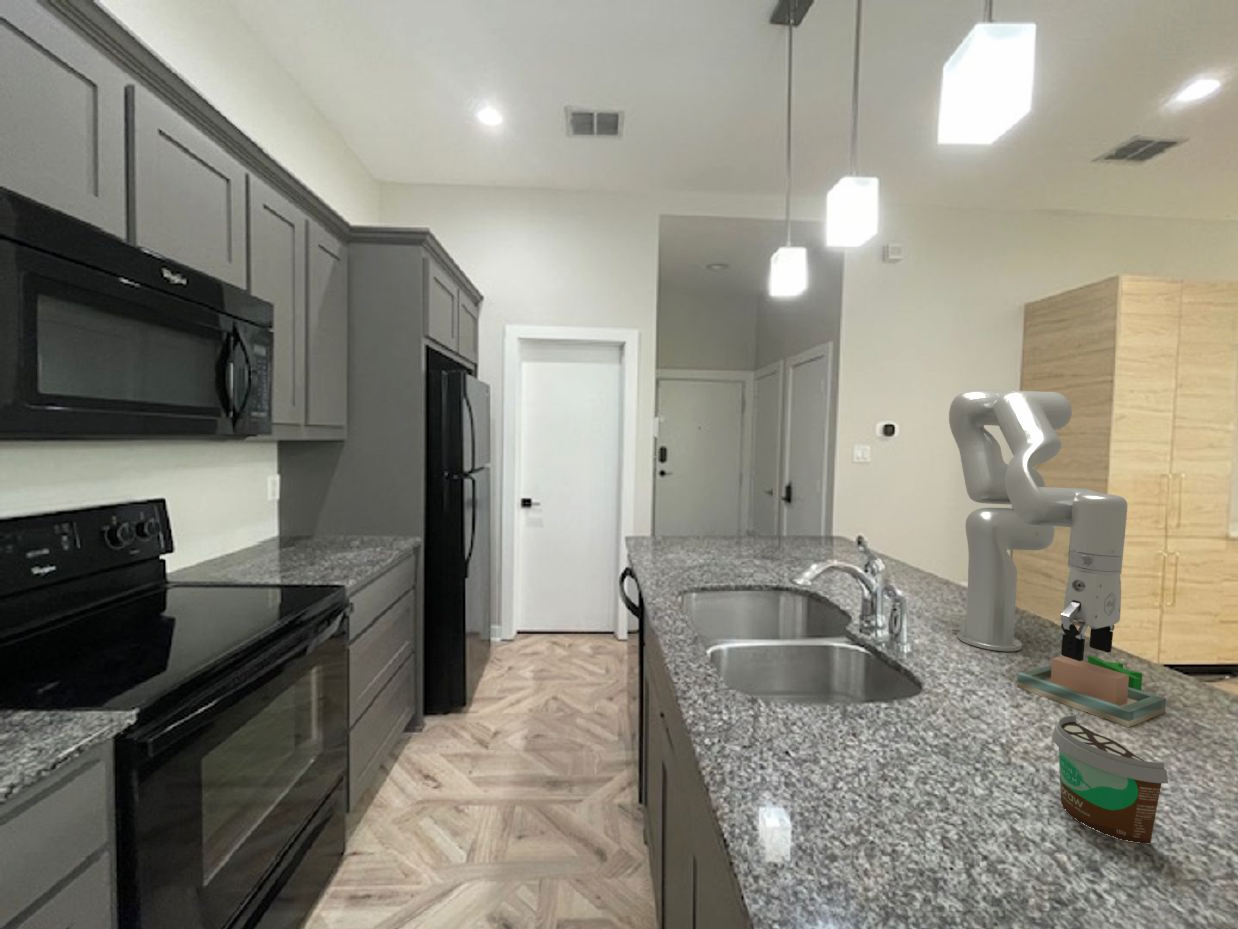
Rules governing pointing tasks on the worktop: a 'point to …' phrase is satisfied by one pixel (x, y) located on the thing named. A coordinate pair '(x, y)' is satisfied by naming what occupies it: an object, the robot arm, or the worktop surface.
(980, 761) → the worktop surface
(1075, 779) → the food container
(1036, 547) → the robot arm
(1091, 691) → the salmon pink rectangular block
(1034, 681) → the nest board
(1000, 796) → the worktop surface
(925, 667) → the worktop surface
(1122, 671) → the pipe clamp
